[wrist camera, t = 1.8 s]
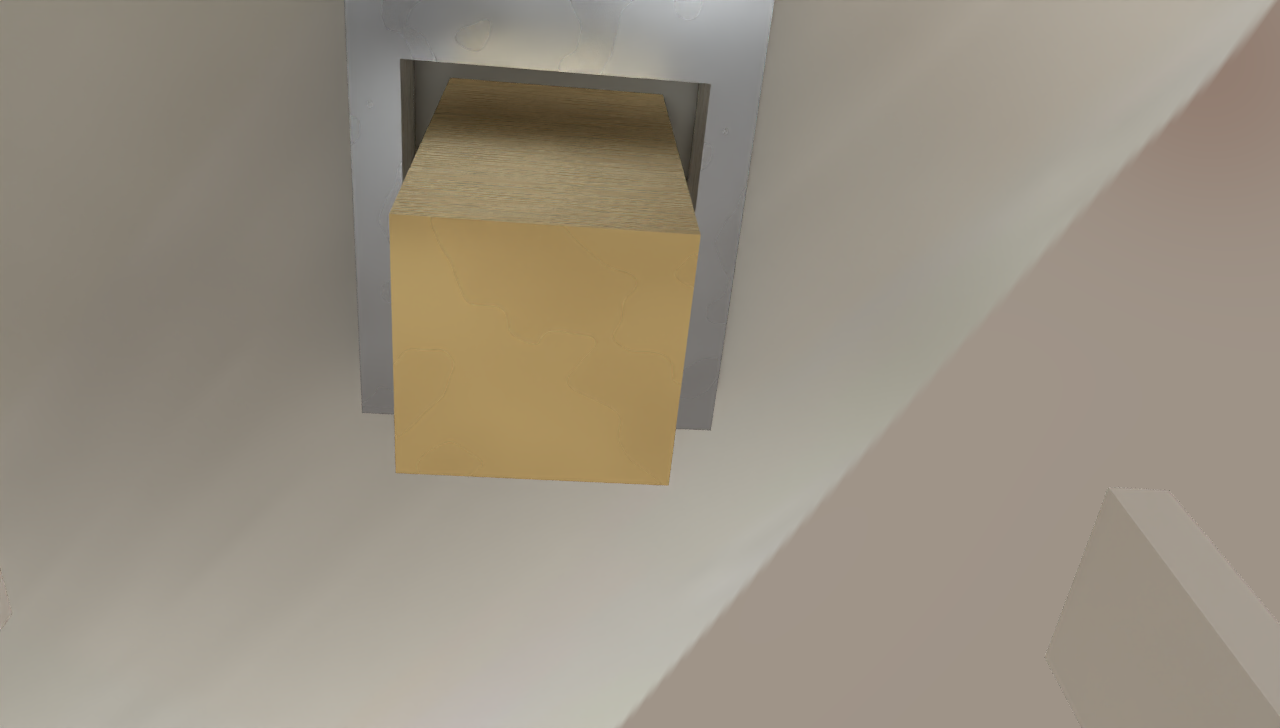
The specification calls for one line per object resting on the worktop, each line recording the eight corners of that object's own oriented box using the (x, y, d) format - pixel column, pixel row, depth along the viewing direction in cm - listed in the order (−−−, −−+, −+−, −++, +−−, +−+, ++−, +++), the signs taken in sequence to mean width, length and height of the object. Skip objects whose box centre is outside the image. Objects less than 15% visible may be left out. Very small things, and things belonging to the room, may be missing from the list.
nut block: (449, 273, 24) (395, 473, 17) (450, 77, 22) (388, 213, 15) (642, 285, 24) (668, 485, 17) (662, 94, 22) (700, 235, 15)
